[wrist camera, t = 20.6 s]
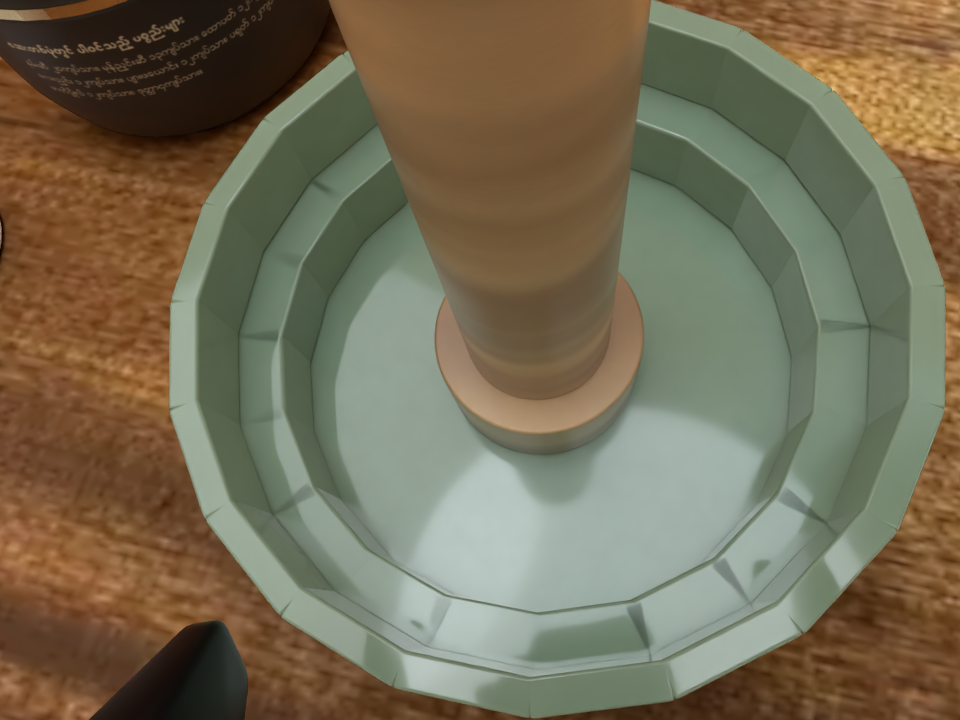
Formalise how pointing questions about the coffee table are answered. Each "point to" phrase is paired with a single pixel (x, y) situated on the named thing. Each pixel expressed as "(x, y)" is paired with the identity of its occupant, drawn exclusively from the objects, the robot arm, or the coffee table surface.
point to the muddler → (517, 196)
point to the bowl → (609, 457)
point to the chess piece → (0, 233)
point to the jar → (159, 57)
